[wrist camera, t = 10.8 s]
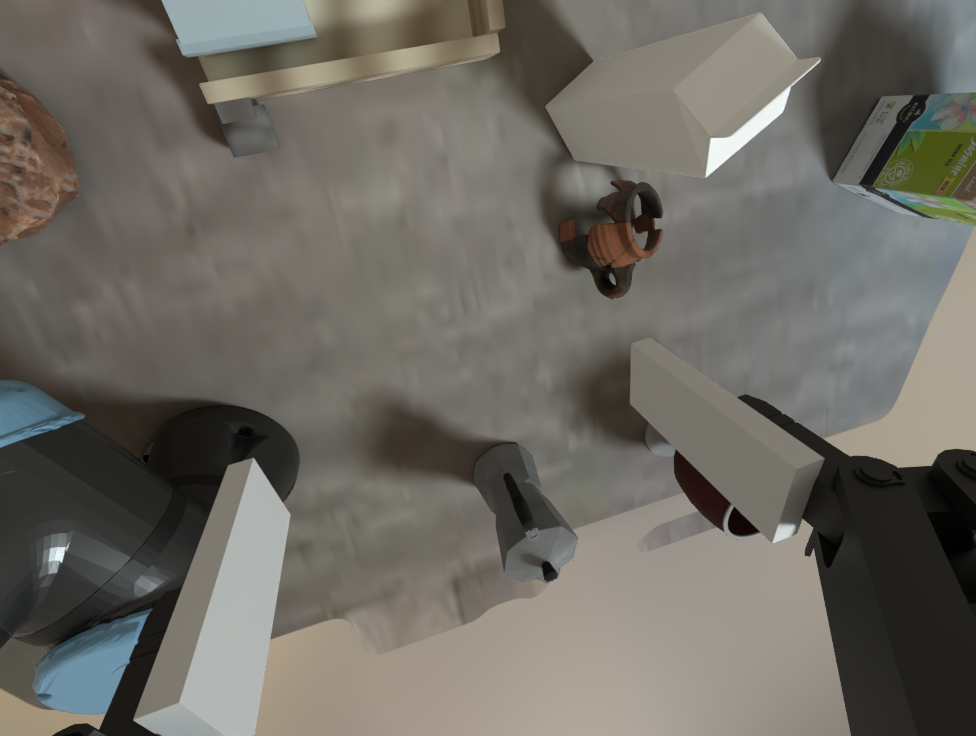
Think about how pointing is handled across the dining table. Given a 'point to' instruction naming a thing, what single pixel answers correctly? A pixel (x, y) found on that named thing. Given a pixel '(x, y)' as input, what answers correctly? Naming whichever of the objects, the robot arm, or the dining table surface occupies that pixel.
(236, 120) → the tray
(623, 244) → the pottery mug
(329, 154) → the dining table surface
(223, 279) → the dining table surface
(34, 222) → the decorative rock
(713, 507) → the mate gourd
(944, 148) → the tea box
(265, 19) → the cylinder on square plate
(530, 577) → the coffeepot
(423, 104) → the dining table surface
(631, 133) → the milk
